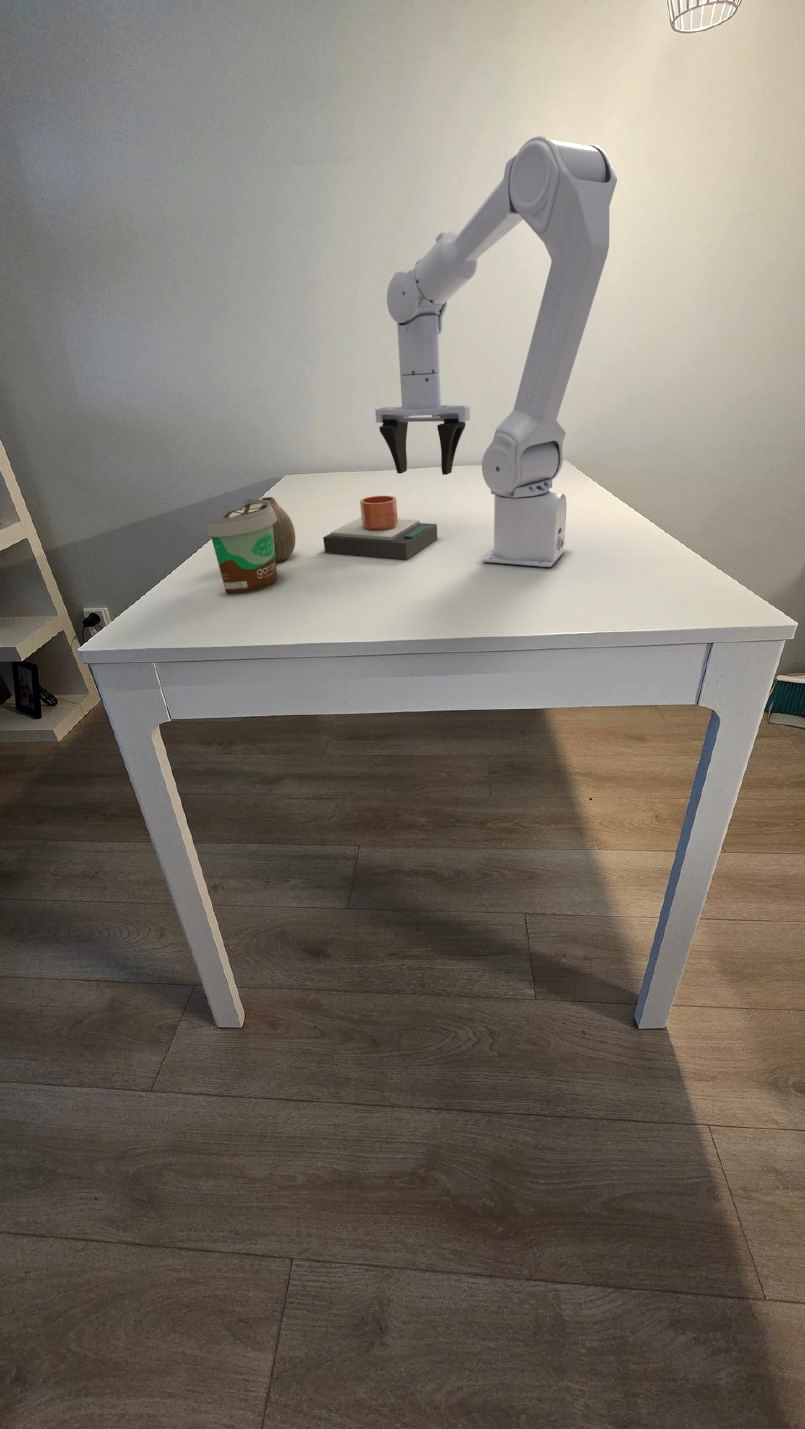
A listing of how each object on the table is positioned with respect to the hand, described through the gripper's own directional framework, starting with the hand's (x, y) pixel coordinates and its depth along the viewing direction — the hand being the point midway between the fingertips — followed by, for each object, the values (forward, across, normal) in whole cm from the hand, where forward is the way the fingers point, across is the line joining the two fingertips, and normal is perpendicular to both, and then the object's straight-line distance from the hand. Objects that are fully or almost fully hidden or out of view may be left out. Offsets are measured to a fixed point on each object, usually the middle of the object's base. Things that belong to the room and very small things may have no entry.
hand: (424, 473), depth 99 cm
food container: (+10, -12, -28) cm, 32 cm away
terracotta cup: (+6, -4, -8) cm, 11 cm away
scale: (+9, -4, -8) cm, 13 cm away
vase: (+10, -17, -18) cm, 27 cm away
